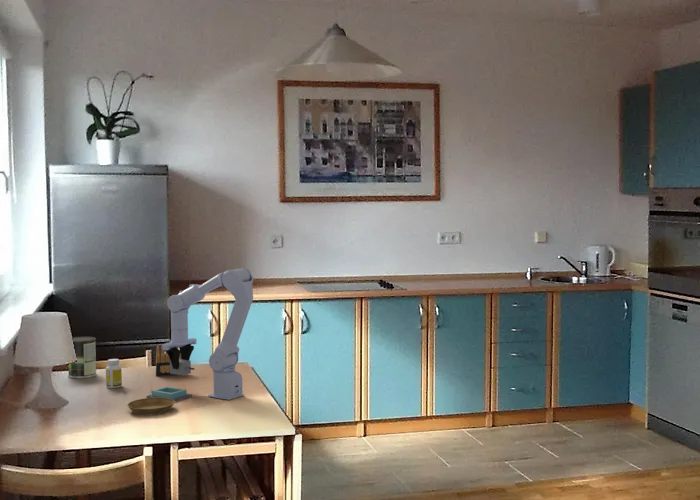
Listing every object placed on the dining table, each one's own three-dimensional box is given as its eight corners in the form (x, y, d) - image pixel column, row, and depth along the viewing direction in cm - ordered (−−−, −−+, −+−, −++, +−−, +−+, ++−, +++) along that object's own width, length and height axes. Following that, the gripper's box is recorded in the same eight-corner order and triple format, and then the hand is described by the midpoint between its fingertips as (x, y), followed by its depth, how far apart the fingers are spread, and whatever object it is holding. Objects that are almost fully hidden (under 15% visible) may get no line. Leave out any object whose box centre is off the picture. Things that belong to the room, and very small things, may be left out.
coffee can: (70, 379, 318) (69, 341, 317) (66, 374, 327) (65, 337, 326) (98, 376, 322) (97, 339, 321) (94, 371, 332) (93, 335, 331)
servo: (198, 374, 296) (197, 359, 295) (189, 376, 292) (189, 361, 292) (175, 371, 301) (175, 356, 301) (167, 373, 298) (167, 358, 298)
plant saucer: (128, 418, 264) (127, 410, 263) (127, 407, 278) (127, 399, 278) (176, 415, 268) (176, 406, 267) (173, 403, 282) (173, 396, 282)
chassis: (191, 396, 290) (191, 389, 290) (172, 402, 283) (172, 395, 282) (166, 392, 297) (165, 385, 297) (146, 397, 289) (146, 390, 289)
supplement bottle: (124, 385, 308) (123, 358, 307) (118, 388, 303) (117, 361, 302) (109, 385, 309) (108, 358, 308) (103, 388, 303) (103, 361, 302)
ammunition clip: (156, 376, 323) (155, 345, 322) (155, 375, 324) (155, 344, 324) (184, 374, 326) (184, 343, 325) (184, 373, 327) (183, 342, 327)
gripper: (185, 325, 305) (186, 362, 306) (155, 330, 293) (156, 370, 293) (200, 326, 301) (201, 364, 302) (170, 332, 289) (171, 372, 290)
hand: (180, 367), depth 297 cm, fingers closed on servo, 4 cm apart
